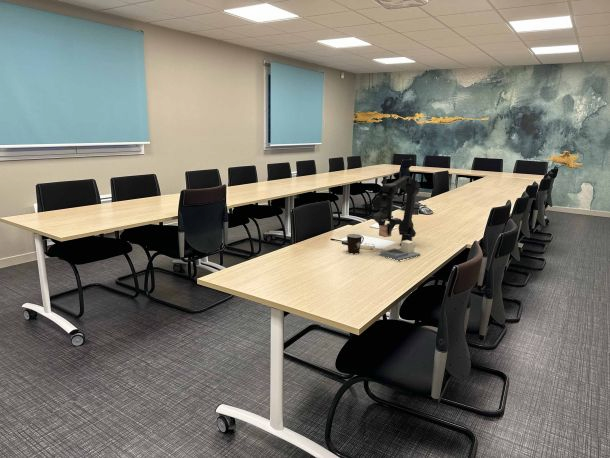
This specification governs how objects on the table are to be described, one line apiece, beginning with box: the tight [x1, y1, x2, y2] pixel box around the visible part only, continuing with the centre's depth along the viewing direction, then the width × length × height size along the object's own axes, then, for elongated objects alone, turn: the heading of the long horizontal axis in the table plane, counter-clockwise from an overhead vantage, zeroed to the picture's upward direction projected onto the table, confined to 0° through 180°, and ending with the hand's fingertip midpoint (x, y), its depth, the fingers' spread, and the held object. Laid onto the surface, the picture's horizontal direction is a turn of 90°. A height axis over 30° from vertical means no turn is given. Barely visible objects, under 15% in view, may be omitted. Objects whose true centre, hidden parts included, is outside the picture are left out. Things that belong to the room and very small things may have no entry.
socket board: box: [379, 240, 421, 262], centre depth 239 cm, size 18×14×8 cm
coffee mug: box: [346, 233, 365, 255], centre depth 244 cm, size 12×9×10 cm
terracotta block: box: [378, 223, 393, 238], centre depth 243 cm, size 5×5×6 cm
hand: (385, 233), depth 244 cm, fingers closed on terracotta block, 5 cm apart
